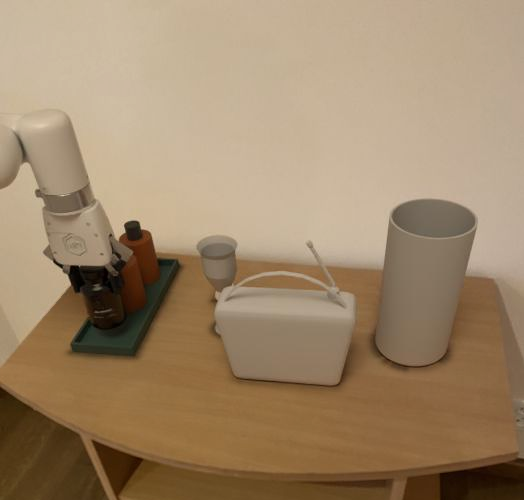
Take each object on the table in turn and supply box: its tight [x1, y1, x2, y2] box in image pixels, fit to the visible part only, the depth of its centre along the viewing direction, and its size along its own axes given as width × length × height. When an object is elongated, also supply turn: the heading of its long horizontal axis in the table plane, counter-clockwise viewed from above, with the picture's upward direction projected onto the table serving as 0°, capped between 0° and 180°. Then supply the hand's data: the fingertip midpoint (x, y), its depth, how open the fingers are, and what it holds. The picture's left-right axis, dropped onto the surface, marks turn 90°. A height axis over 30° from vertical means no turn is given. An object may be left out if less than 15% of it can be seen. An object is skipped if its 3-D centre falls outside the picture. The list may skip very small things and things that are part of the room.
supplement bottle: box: [79, 266, 127, 330], centre depth 92 cm, size 7×7×12 cm
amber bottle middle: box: [111, 253, 147, 313], centre depth 101 cm, size 7×7×13 cm
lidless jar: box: [214, 283, 235, 301], centre depth 105 cm, size 5×3×5 cm
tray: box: [69, 257, 181, 357], centre depth 105 cm, size 30×12×2 cm, turn 171°
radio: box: [213, 239, 358, 387], centre depth 81 cm, size 22×8×25 cm, turn 80°
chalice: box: [195, 234, 238, 335], centre depth 92 cm, size 7×7×18 cm
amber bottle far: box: [118, 219, 161, 286], centre depth 108 cm, size 7×7×13 cm
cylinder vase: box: [374, 198, 479, 367], centre depth 83 cm, size 12×12×25 cm
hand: (99, 289), depth 91 cm, fingers closed on supplement bottle, 6 cm apart
